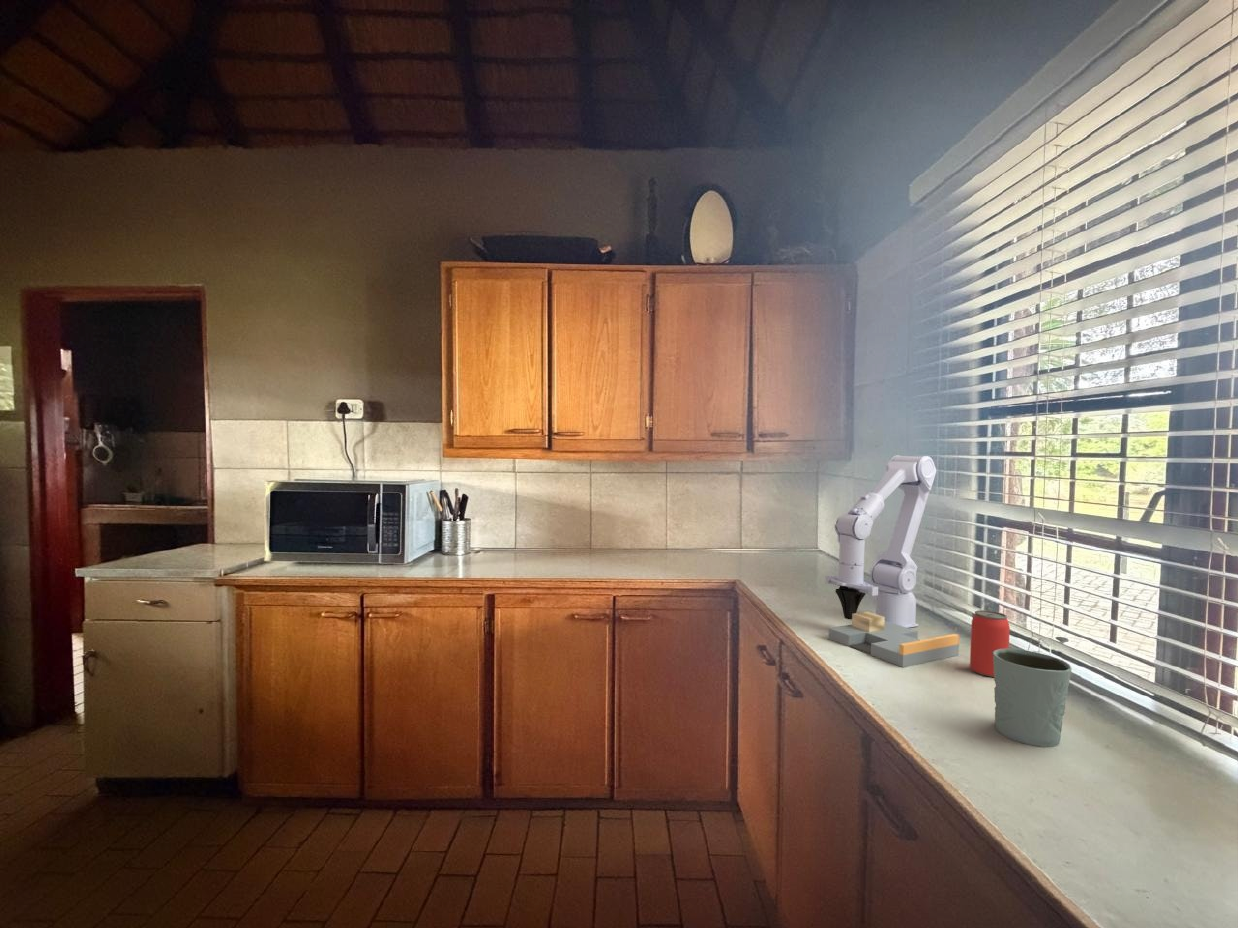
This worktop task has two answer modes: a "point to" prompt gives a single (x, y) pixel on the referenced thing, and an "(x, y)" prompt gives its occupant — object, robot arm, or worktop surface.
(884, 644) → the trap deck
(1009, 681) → the grey green oval vase
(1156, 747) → the worktop surface
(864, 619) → the birch block
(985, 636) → the beer can
